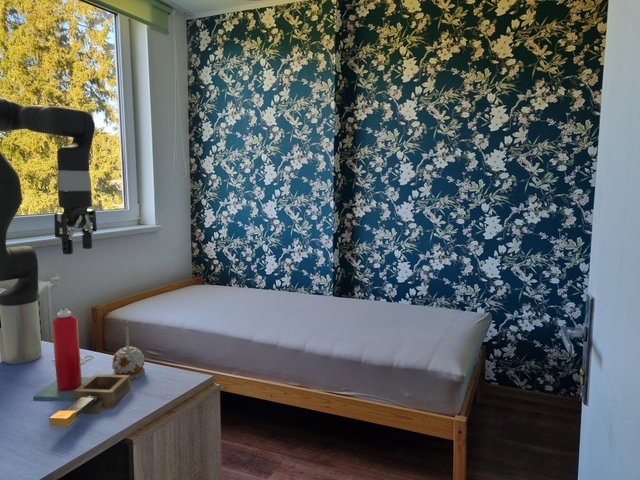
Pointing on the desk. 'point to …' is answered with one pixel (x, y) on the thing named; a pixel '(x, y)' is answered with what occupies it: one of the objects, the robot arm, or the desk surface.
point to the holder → (104, 391)
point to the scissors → (82, 359)
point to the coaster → (56, 392)
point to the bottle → (66, 351)
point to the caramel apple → (128, 360)
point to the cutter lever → (72, 411)
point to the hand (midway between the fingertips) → (78, 251)
